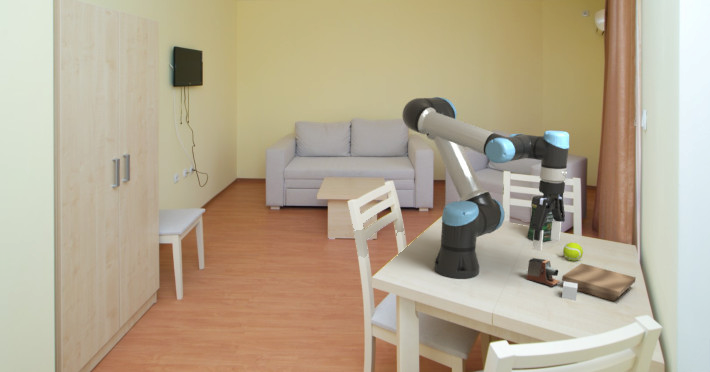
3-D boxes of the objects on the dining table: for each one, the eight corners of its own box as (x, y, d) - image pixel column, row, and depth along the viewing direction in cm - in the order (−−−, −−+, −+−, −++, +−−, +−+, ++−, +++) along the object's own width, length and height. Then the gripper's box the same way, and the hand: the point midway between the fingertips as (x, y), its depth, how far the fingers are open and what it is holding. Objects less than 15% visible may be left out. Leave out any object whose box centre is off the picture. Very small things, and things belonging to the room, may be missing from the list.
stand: (561, 287, 167) (562, 275, 166) (580, 274, 178) (581, 263, 177) (617, 304, 156) (619, 291, 155) (634, 289, 167) (635, 277, 166)
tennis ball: (564, 262, 189) (566, 245, 188) (560, 256, 196) (562, 239, 194) (583, 264, 188) (586, 246, 187) (579, 257, 195) (581, 240, 193)
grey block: (561, 298, 159) (563, 285, 159) (562, 293, 163) (563, 281, 162) (575, 300, 158) (577, 288, 157) (576, 295, 161) (577, 283, 161)
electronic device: (553, 288, 166) (555, 266, 165) (525, 279, 173) (527, 258, 171) (559, 284, 169) (561, 262, 168) (531, 276, 176) (533, 255, 174)
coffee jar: (537, 243, 210) (542, 198, 206) (524, 237, 217) (528, 194, 213) (556, 240, 214) (561, 196, 210) (542, 235, 221) (546, 192, 217)
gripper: (547, 188, 153) (540, 256, 157) (579, 176, 170) (573, 239, 175) (522, 184, 158) (517, 250, 162) (557, 173, 175) (551, 234, 180)
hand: (546, 244), depth 168 cm, fingers open, 13 cm apart
